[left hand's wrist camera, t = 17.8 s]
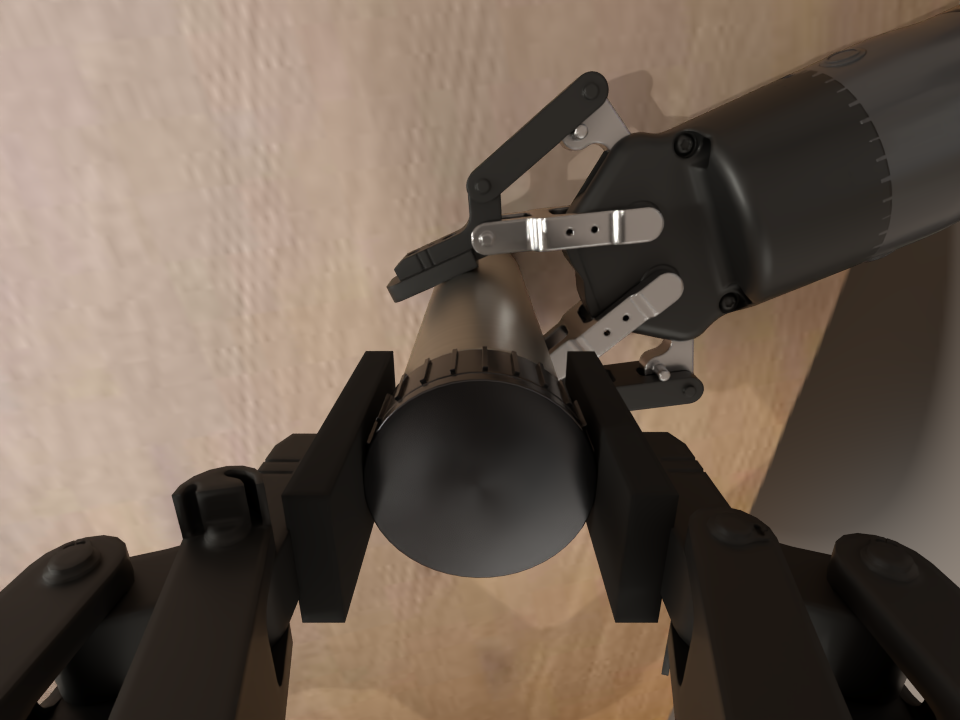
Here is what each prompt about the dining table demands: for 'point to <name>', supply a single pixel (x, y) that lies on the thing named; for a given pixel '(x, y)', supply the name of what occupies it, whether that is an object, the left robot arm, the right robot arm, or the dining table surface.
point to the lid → (480, 464)
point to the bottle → (482, 315)
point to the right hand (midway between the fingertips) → (422, 342)
